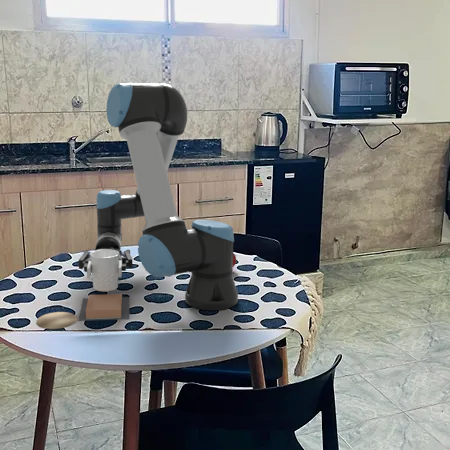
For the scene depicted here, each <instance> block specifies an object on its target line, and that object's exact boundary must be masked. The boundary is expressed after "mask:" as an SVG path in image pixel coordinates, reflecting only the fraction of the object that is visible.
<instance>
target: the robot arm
mask: <svg viewBox="0 0 450 450" xmlns="http://www.w3.org/2000/svg"><path fill="white" fill-rule="evenodd" d="M185 101H186V100H185V99H184V97H183V95H182V94H181V92H180V91H179V90H177V88H175V86H172V85H170V84H167V83H163V82H158V83H150V82H149V83H147V82H145V83H143V82H139V83H138V82H137V83H136V82H130V81H129V82H126V83H125V82H124V83H123V82H121V83H117V84H114V85H113V86H112V88H111V89H110V90H109V93H108V96H107V99H106V107H105V108H106V119H107V122H108V123H109V125H110V126H111V127H113V128H117V129H118V132H119V136H120V137H121V138H122V139H124V140H126V142H127V147H128V151H129V155H130V159H131V163H132V167H133V173H134V177H135V181H136V185H137V189H136V191H135V193H133V194H126V195H121V192H120V191H118V190H115V189H104V190H100V191H99V192H98V193H97V194H96V219H97V223H96V224H97V226H96V227H97V228H96V230H97V231H96V233H97V234H96V235H97V238H96V239H97V241H96V243H95V244H96V245H95V248H94V250H93V251H96V250H102V249H111V250H116V251H118V252H119V267H118V271H119V277H118V278H122V276H123V275H122V274H123V272H126V271H127V268H129V269H132V268H133V266H134V265H133V262H134V261H133V257H132V254H131V249H126V250H123V251H122V248H121V247H122V246H121V245H122V241H123V240H122V239H123V235H122V234H123V233H122V220H126V219H134V218H142V217H143V218H144V220H145V225H144V227H142V230H141V232H142V235H141V236H140V237H139V239H138V241H137V246H138V247H137V252H138V257H139V260H140V262H141V265H142V266H143V269H145V271H146V272H147V273H148V274H149V275H150V276H152V277H154V278H163V277H168V278H169V277H173V276H175V275H179V274H184V273H190V272H191V275H190V279H189V281H188V283H187V284H188V285H187V286H186V290H185V295H184V296H185V297H184V301H185V303H186V305H188V306H189V307H191V308H194V309H198V310H204V311H222V310H227V309H230V308H233V307H234V306H237V304H238V302H239V301H238V300H239V293H238V289H237V286H236V283H235V280H234V275H233V273H234V272H233V270H234V269H233V268H234V267H233V253H234V243H235V237H234V229H233V227H232V226H231V225H229V224H228V223H225V222H222V221H217V220H210V219H195V220H193V221H192V222H191V228H190V227H189V228H187V226H186V222H185V220H184V219H183V218H181V217H180V216H179V215H178V213H177V210H176V205H175V201H174V197H173V192H172V189H171V185H170V184H171V182H170V180H169V177H168V170H169V167H170V164H171V162H172V158H173V155H174V152H175V149H176V146H177V143H178V140H179V138H180V136H181V135H183V134H184V133H185V129H186V126H187V122H188V107H187V104H186V102H185ZM91 252H92V251H89V250H87V249H85V250H83V254H82V255H81V256H80V258H79V259H78V261H77V262H78V269H79V270H83V272H85V273H86V275H87V276H86V277H87V279H91V277H92V270H91V258H90V253H91Z"/></svg>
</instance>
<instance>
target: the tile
mask: <svg viewBox="0 0 450 450" xmlns="http://www.w3.org/2000/svg"><path fill="white" fill-rule="evenodd" d="M122 297H123V293H114V294H113V293H110V294H89V295H88V297H87V298H88V302H87V307H86V319H113V318H121V313H122Z"/></svg>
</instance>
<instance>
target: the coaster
mask: <svg viewBox="0 0 450 450" xmlns="http://www.w3.org/2000/svg"><path fill="white" fill-rule="evenodd" d="M77 321H78V317H77V316H76V315H75V314H74V313H72V312H68V311H67V312H66V311H56V312H49V313H45V314H43V315H41V316H39V317H38V318H37V319H36V325H37V326H38V327H40V328H43V329H48V330H49V329H50V330H57V329H64V328H68V327H70V326H73V325H74V324H75V323H77Z"/></svg>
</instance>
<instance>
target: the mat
mask: <svg viewBox="0 0 450 450" xmlns="http://www.w3.org/2000/svg"><path fill="white" fill-rule="evenodd" d="M130 299H131V298H130V296H122V313H121V318H113V319H86V307H87V302H88V297H87V298H85V297H83V298H82V302H81V306H80V310H79V314H78V318H77V321H78V322H89V321H115V320H130V306H131V305H130V303H131V302H130V301H131V300H130Z"/></svg>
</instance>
